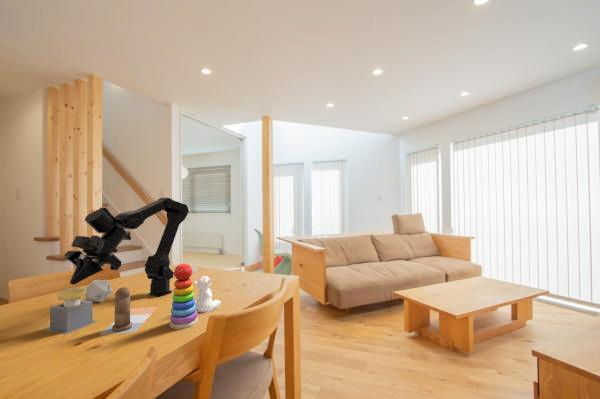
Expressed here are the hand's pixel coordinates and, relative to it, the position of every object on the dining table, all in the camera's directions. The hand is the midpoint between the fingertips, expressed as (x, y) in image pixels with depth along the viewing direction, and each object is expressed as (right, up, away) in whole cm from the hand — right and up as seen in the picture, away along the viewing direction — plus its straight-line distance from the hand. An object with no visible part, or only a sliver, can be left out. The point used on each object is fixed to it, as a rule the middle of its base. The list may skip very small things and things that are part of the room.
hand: (71, 283), depth 81 cm
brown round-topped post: (+16, -12, -2) cm, 21 cm away
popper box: (0, -13, 0) cm, 13 cm away
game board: (+15, -13, +4) cm, 21 cm away
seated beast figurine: (+35, -14, +14) cm, 40 cm away
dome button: (0, -9, 0) cm, 9 cm away
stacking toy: (+33, -13, +1) cm, 35 cm away
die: (-9, -14, +23) cm, 28 cm away
